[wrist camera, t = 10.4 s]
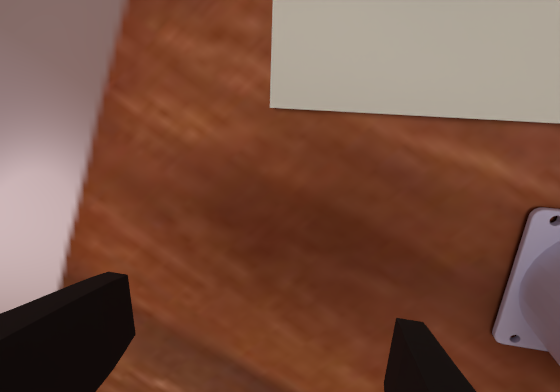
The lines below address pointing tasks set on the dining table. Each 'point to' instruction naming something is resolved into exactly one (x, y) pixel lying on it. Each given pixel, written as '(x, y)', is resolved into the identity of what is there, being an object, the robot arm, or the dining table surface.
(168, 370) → the dining table surface
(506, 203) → the dining table surface
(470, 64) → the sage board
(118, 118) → the dining table surface
